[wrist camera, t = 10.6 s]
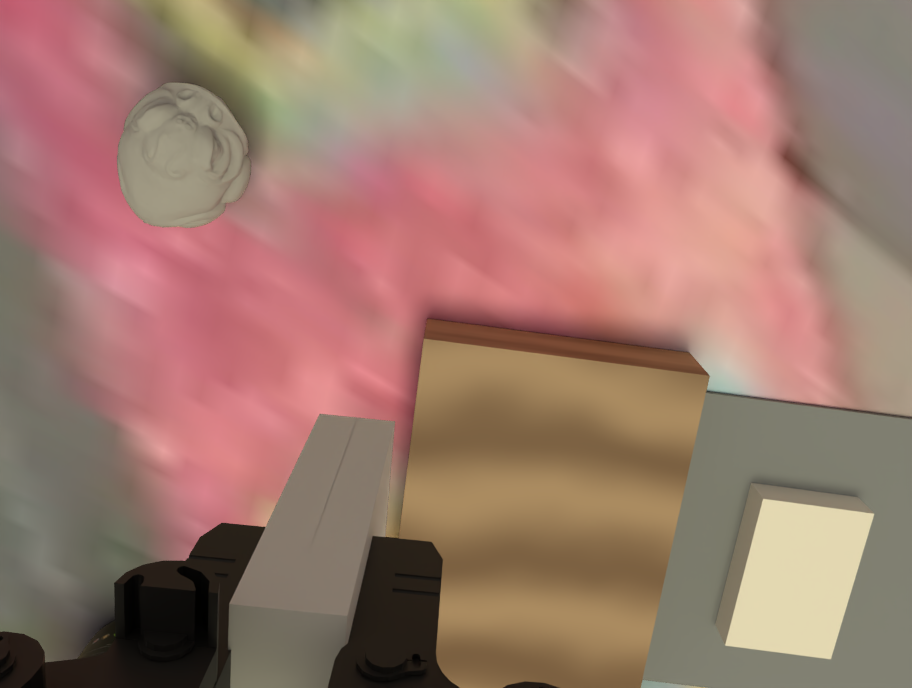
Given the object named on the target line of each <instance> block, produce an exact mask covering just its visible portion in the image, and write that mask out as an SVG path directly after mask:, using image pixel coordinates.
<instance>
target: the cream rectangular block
mask: <svg viewBox="0 0 912 688" xmlns="http://www.w3.org/2000/svg"><path fill="white" fill-rule="evenodd" d="M873 517H874V513H873V512H872V511H871V510H870V509H869V508H868V507H867V506H866V505H865V504H864V503H863V502H862V501H861V500H860V499H859V498H858V497H853V496H846V495H838V494H831V493H824V492H816V491H809V490H801V489H794V488H787V487H779V486H772V485H765V484H757V483H751V485H750V489H749V493H748V497H747V501H746V505H745V509H744V513H743V517H742V521H741V525H740V529H739V533H738V537H737V541H736V545H735V549H734V552H733V556H732V560H731V564H730V568H729V572H728V576H727V580H726V584H725V588H724V592H723V596H722V600H721V604H720V608H719V612H718V615H717V619H716V623H715V625H716V627H717V630H718V632H719V634H720V636H721V638H722V640H723V642H724V644H725V646H732V647H740V648H748V649H755V650H763V651H771V652H778V653H786V654H794V655H801V656H809V657H817V658H824V659H831V657H832V654H833V651H834V647H835V644H836V641H837V637H838V634H839V631H840V627H841V624H842V621H843V617H844V614H845V610H846V607H847V604H848V600H849V597H850V594H851V590H852V587H853V584H854V580H855V577H856V574H857V570H858V567H859V564H860V560H861V557H862V554H863V550H864V547H865V544H866V540H867V537H868V534H869V530H870V527H871V523H872V520H873Z"/></svg>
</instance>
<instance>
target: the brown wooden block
mask: <svg viewBox="0 0 912 688" xmlns="http://www.w3.org/2000/svg"><path fill="white" fill-rule="evenodd" d="M709 377H710V376H709V374H708V373H707V372H706V371H705V370H704V369H703V368H702V367H701V365H700V364H699V363H698V362H697V361H696V360H695V359H694V357H693V356H692V355H691V354H690V353H688V352H680V351H673V350H665V349H657V348H650V347H642V346H634V345H627V344H619V343H611V342H604V341H596V340H588V339H581V338H573V337H565V336H558V335H550V334H542V333H535V332H527V331H519V330H512V329H504V328H496V327H489V326H481V325H473V324H466V323H458V322H450V321H443V320H435V319H427V323H426V329H425V334H424V341H423V349H422V356H421V364H420V372H419V380H418V388H417V396H416V404H415V412H414V420H413V428H412V436H411V444H410V451H409V459H408V467H407V475H406V483H405V491H404V499H403V507H402V515H401V523H400V531H399V539H409V540H419V541H429V542H432V543H433V544H434V546H435V548H436V549H437V551H438V552H439V554H440V555H441V557H442V559H443V565H442V578H441V592H440V606H439V619H438V633H437V646H436V657H437V663H438V665H439V667H440V669H441V671H442V672H443V674H444V675H445V676H446V677H447V678H448V679H449V680H450V681H451V682H452V683H454V684H455V685H457V686H458V687H460V688H503V687H505V686H506V685H510V684H515V683H519V682H524V681H527V682H541V683H547V684H550V685H553V686H556V687H559V688H641V683H642V679H643V674H644V670H645V665H646V661H647V656H648V652H649V647H650V643H651V638H652V634H653V629H654V625H655V620H656V616H657V611H658V607H659V602H660V598H661V593H662V589H663V584H664V580H665V575H666V570H667V566H668V561H669V557H670V552H671V548H672V543H673V539H674V534H675V530H676V525H677V521H678V516H679V512H680V507H681V503H682V498H683V494H684V489H685V485H686V480H687V476H688V471H689V467H690V462H691V458H692V453H693V449H694V444H695V440H696V435H697V431H698V426H699V422H700V417H701V413H702V408H703V404H704V399H705V395H706V390H707V386H708V381H709Z"/></svg>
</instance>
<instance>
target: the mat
mask: <svg viewBox="0 0 912 688" xmlns="http://www.w3.org/2000/svg"><path fill="white" fill-rule="evenodd" d="M751 483H757V484H765V485H772V486H779V487H787V488H794V489H801V490H809V491H816V492H824V493H831V494H838V495H846V496H853V497H858V498H859V499H860V500H861V501H862V502H863V503H864V504H865V505H866V506H867V507H868V508H869V509H870V510H871V511H872V512H873V513H874V517H873V520H872V523H871V527H870V530H869V534H868V537H867V540H866V544H865V547H864V550H863V554H862V557H861V560H860V564H859V567H858V570H857V574H856V577H855V580H854V584H853V587H852V590H851V594H850V597H849V600H848V604H847V607H846V610H845V614H844V617H843V621H842V624H841V627H840V631H839V634H838V637H837V641H836V644H835V647H834V651H833V654H832V657H831V659H824V658H817V657H809V656H801V655H794V654H786V653H778V652H771V651H763V650H755V649H748V648H740V647H732V646H725V644H724V642H723V640H722V638H721V636H720V634H719V632H718V630H717V627H716V625H715V623H716V619H717V615H718V612H719V608H720V604H721V600H722V596H723V592H724V588H725V584H726V580H727V576H728V572H729V568H730V564H731V560H732V556H733V552H734V549H735V545H736V541H737V537H738V533H739V529H740V525H741V521H742V517H743V513H744V509H745V505H746V501H747V497H748V493H749V489H750V485H751ZM642 680H648V681H656V682H664V683H673V684H681V685H689V686H698V687H706V688H912V418H908V417H901V416H893V415H885V414H877V413H870V412H862V411H854V410H846V409H839V408H831V407H823V406H816V405H808V404H800V403H792V402H785V401H777V400H769V399H762V398H754V397H746V396H738V395H731V394H723V393H715V392H707V391H706V395H705V399H704V404H703V408H702V413H701V417H700V422H699V426H698V431H697V435H696V440H695V444H694V449H693V453H692V458H691V462H690V467H689V471H688V476H687V480H686V485H685V489H684V494H683V498H682V503H681V507H680V512H679V516H678V521H677V525H676V530H675V534H674V539H673V543H672V548H671V552H670V557H669V561H668V566H667V570H666V575H665V580H664V584H663V589H662V593H661V598H660V602H659V607H658V611H657V616H656V620H655V625H654V629H653V634H652V638H651V643H650V647H649V652H648V656H647V661H646V665H645V670H644V674H643V679H642Z"/></svg>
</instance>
